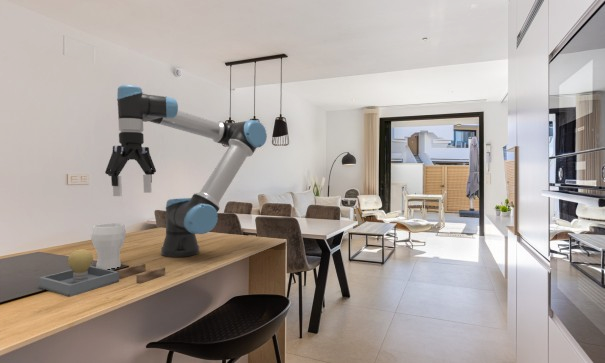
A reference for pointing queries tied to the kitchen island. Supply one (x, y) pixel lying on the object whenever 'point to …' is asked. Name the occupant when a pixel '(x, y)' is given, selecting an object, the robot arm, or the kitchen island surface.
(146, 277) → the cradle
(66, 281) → the tray
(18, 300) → the kitchen island surface
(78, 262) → the light bulb
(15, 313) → the kitchen island surface
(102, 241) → the cup
